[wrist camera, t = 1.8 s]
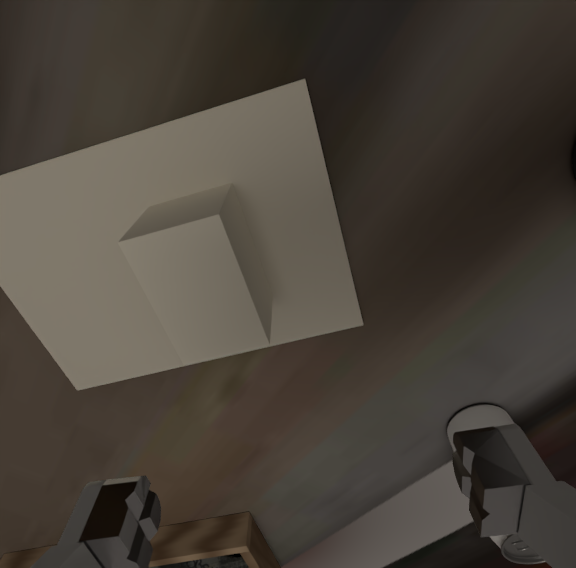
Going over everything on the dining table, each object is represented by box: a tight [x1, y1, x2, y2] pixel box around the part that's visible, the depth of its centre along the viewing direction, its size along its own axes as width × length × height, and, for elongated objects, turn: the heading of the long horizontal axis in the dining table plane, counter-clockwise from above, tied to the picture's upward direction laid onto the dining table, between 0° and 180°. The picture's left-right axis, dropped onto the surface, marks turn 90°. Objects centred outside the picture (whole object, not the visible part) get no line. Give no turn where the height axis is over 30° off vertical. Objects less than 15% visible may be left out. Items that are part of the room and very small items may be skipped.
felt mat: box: [0, 79, 363, 390], centre depth 33 cm, size 28×20×1 cm
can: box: [447, 404, 546, 564], centre depth 37 cm, size 6×6×12 cm
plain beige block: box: [118, 183, 273, 365], centre depth 29 cm, size 6×10×6 cm, turn 16°
